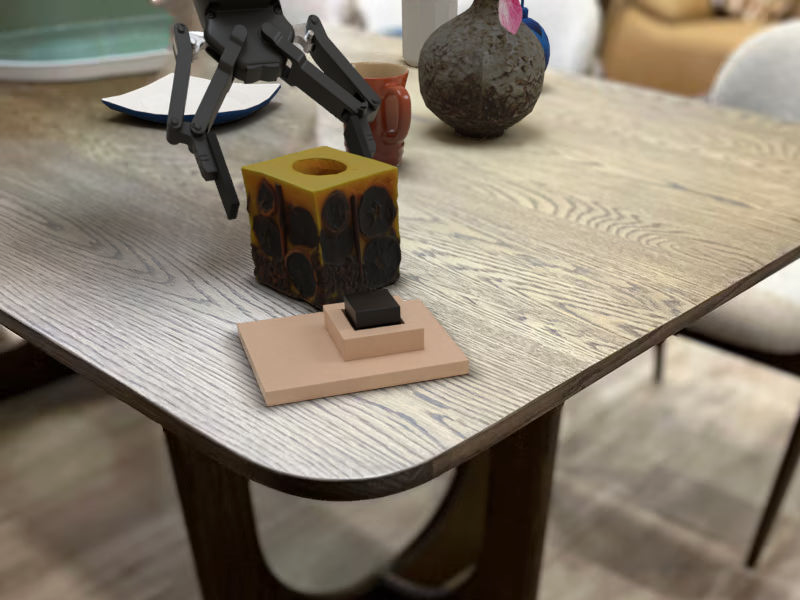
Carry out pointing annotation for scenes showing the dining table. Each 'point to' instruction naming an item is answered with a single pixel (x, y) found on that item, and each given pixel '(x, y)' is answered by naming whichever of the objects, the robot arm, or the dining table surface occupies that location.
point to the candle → (323, 224)
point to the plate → (191, 100)
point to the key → (372, 309)
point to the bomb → (537, 32)
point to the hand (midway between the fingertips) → (305, 201)
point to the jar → (423, 24)
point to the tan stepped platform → (347, 353)
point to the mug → (388, 109)
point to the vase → (482, 69)
